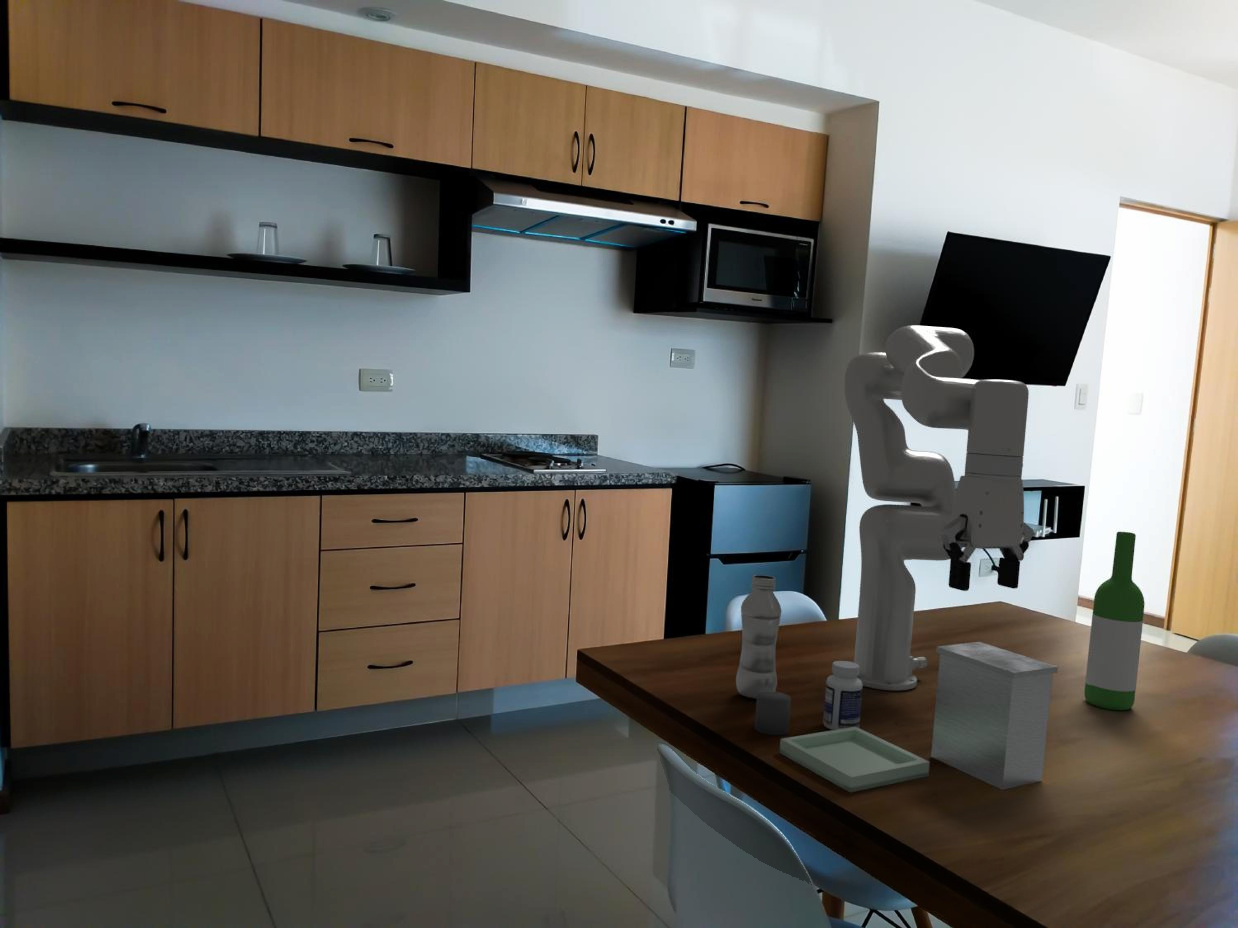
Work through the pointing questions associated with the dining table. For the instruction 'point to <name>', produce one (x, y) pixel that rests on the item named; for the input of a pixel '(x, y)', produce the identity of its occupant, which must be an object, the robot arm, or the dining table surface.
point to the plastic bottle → (759, 638)
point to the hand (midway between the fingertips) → (983, 587)
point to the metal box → (992, 713)
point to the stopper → (772, 713)
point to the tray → (854, 758)
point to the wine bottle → (1116, 633)
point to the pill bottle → (843, 696)
